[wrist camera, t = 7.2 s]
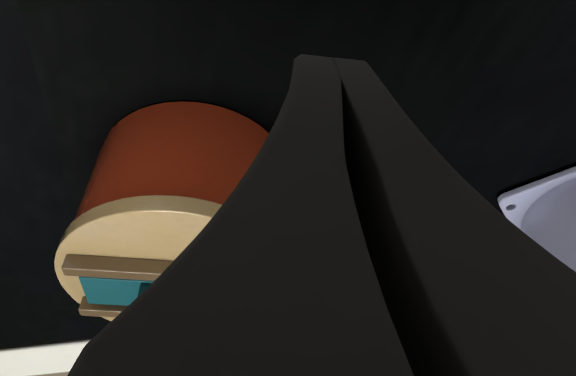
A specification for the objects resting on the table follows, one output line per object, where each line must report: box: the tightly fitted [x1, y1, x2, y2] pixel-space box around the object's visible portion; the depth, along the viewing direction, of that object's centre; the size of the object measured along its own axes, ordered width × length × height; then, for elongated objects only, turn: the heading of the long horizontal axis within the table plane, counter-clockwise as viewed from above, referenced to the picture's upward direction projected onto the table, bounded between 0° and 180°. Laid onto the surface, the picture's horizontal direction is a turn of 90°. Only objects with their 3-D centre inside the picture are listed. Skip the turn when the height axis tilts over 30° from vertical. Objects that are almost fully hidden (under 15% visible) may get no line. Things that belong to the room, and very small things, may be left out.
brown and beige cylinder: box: [54, 101, 269, 321], centre depth 23 cm, size 10×10×8 cm
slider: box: [79, 276, 154, 306], centre depth 20 cm, size 3×2×2 cm
